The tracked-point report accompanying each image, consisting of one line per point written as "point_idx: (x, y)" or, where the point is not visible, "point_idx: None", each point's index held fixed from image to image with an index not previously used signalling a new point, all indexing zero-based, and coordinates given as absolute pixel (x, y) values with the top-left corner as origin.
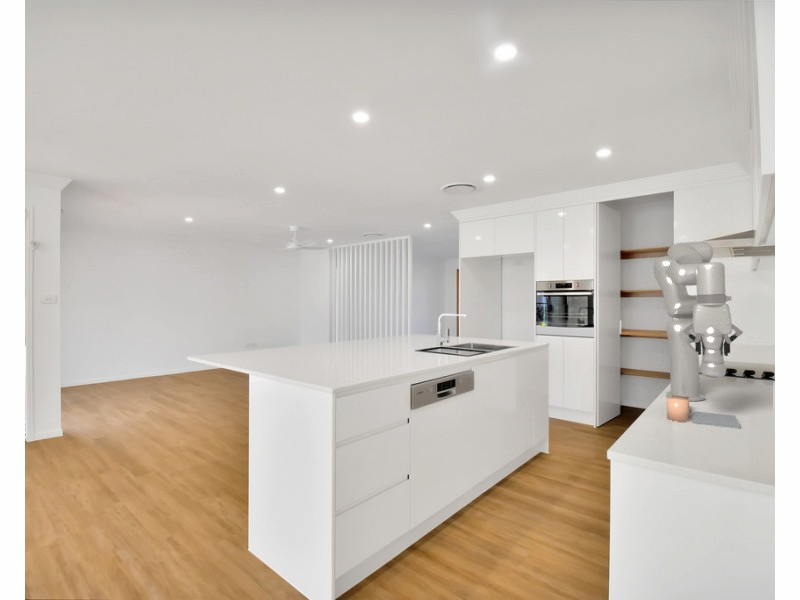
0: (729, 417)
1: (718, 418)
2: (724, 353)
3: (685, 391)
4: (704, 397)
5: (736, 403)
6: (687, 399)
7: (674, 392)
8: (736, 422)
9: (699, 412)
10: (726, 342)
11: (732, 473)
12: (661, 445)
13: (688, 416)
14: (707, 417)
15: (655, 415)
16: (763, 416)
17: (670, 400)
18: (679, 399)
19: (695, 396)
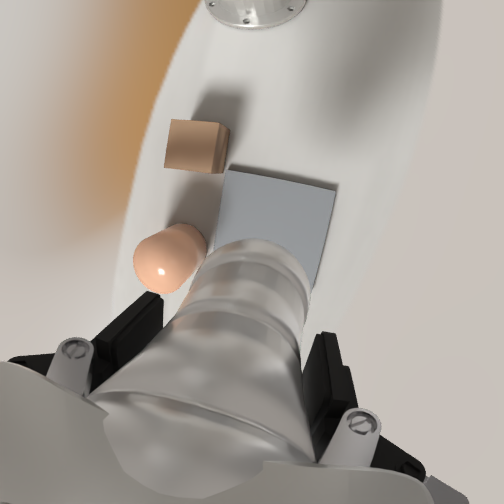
0: (313, 217)
1: (280, 235)
2: (306, 370)
3: (244, 7)
4: (304, 2)
5: (380, 31)
6: (184, 268)
7: (219, 1)
8: (313, 265)
9: (246, 180)
10: (317, 452)
11: None
12: None
13: (201, 261)
14: (254, 232)
15: (139, 221)
16: (409, 157)
17: (142, 282)
18: (163, 272)
19: (276, 9)
